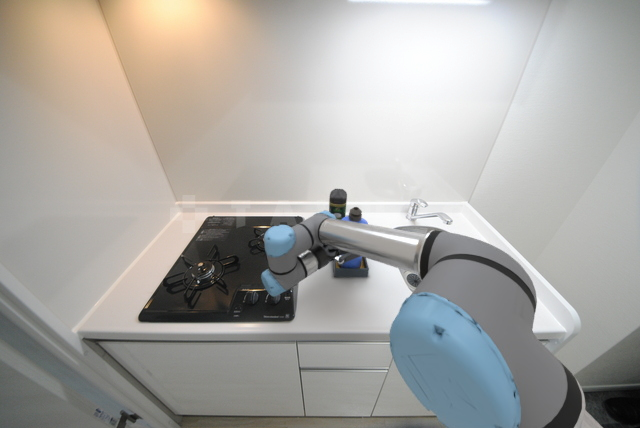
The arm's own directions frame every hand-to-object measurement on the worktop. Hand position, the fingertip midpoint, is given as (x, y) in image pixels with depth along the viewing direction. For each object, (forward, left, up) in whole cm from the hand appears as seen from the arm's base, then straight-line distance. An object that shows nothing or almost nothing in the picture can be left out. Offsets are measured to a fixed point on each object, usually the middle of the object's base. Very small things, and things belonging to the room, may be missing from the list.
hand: (361, 230), depth 76 cm
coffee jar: (+18, +15, -15) cm, 28 cm away
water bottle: (-4, +2, -14) cm, 14 cm away
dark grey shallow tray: (+1, +4, -15) cm, 15 cm away
